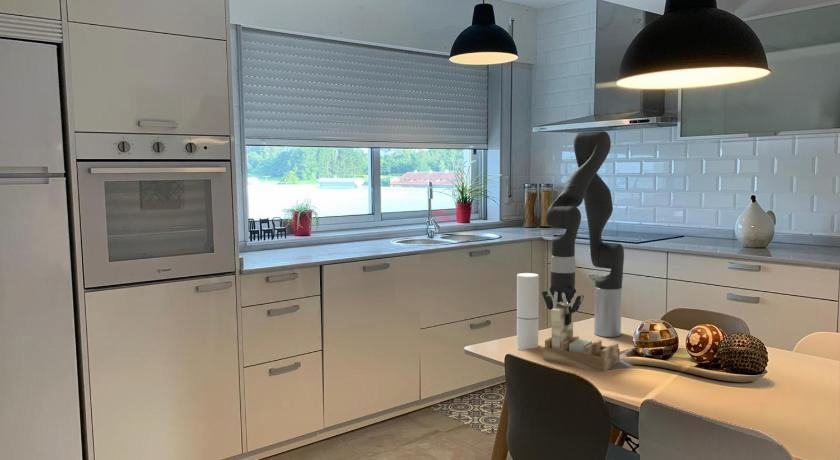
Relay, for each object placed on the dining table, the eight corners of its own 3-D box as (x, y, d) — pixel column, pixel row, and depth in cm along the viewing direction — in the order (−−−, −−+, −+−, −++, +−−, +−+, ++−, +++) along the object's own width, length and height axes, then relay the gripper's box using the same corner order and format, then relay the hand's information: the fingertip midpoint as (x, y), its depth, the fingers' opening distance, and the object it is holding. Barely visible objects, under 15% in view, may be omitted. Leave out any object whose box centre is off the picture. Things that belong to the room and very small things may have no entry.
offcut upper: (577, 347, 205) (577, 338, 205) (591, 349, 203) (592, 340, 202) (569, 352, 200) (569, 344, 199) (583, 355, 197) (583, 346, 197)
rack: (561, 353, 213) (562, 332, 212) (619, 364, 200) (619, 342, 200) (543, 363, 203) (543, 341, 202) (602, 375, 191) (602, 351, 190)
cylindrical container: (537, 345, 222) (537, 273, 220) (539, 351, 215) (539, 276, 213) (516, 345, 223) (516, 273, 220) (517, 351, 216) (517, 276, 213)
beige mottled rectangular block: (565, 347, 210) (564, 302, 208) (573, 349, 208) (572, 303, 206) (552, 356, 203) (551, 309, 201) (560, 357, 202) (559, 310, 199)
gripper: (589, 270, 201) (588, 325, 203) (548, 266, 210) (547, 318, 212) (578, 273, 195) (577, 330, 197) (536, 269, 204) (536, 323, 206)
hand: (562, 324), depth 205 cm, fingers closed on beige mottled rectangular block, 3 cm apart
